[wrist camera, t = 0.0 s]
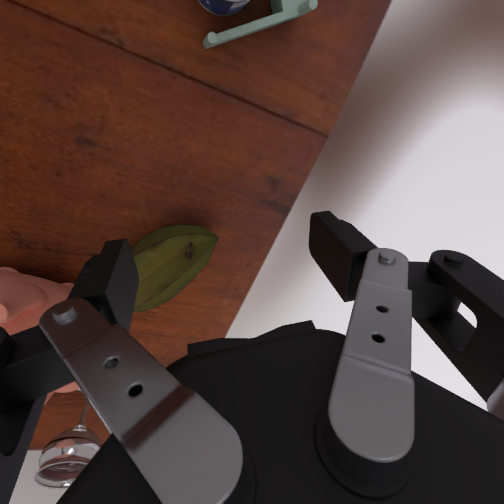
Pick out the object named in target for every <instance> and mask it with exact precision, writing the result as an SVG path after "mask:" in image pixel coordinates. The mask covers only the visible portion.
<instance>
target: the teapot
mask: <svg viewBox="0 0 504 504" xmlns="http://www.w3.org/2000/svg"><path fill="white" fill-rule="evenodd" d="M73 286H74V284H73V283H63V284H60V283H57V282H54V281H50V280H47V279H44V278H40V277H36V276H32V275H27V274H22V273H19V272H18V271H17V270H15V269H13V268H10V267H0V326H1V327H3V328H5V330H6V331H7V332H8V334H9V335H12V334H15V333H18V332H21V331H23V330H26V329H29V328H32V327H34V326H37V325H39V319H40V317H41V316H42V314H43V313H44V312H45V311H46V310H48V309H49V308H50V307H52V306H53V305H55V304H57V303H59V302H61V301H64V300H66V299H67V297H68V295H69V293H70V292H71V290H72V288H73ZM77 389H79V386H78V385H77V383H76V382H75V381H74V382H72V383H70V384H68V385H65V386H63V387H61V388H59V389H57V390H55V391H52V392H50V393H48V395H47V397H46V400H45V403H44V405H45V404H46V403H47V401H48V400H49V399H50V397H51V396H52V395H53V393H54V392H60V393H65V392H71V391H74V390H77Z"/></svg>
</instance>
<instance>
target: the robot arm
mask: <svg viewBox="0 0 504 504" xmlns="http://www.w3.org/2000/svg"><path fill="white" fill-rule="evenodd" d="M309 250H310V253H311V256H312V257H313V258H314V260H315V261H316V263H317V264H318V266H319V267H320V268H321V270H322V271H323V272H324V274H325V275H326V277H327V278H328V280H329V281H330V282H331V284H332V285H333V287H334V288H335V289H336V291H337V292H338V294H339V295H340V297H341V298H342V299H343V301H344V302H348V301H353V300H355V301H354V306H353V309H352V313H351V317H350V322H349V325H348V329H347V333H346V336H345V335H343V334H340V333H337V332H334V331H329V330H322V329H316V328H315V326H314V324H313V322H312V321H311V320H310V321H304V322H299V323H295V324H289V325H284V326H281V327H278V328H276V329H274V330H272V331H270V332H267V333H265V334H263V335H260V336H258V337H256V338H250V339H248V338H247V339H246V338H218V339H213V340H208V341H203V342H198V343H193V344H187V345H188V355H186V356H184V357H182V358H180V359H178V360H177V361H175V362H173V363H172V364H170V365H169V366H168V367H166V368H164V367H163V366H162V365H161V364H160V363H159V362H158V361H157V360H156V359H155V358H154V357H153V356H152V355H151V354H150V353H149V352H148V351H147V350H146V349H145V348H144V347H143V346H142V345H141V344H139V343H138V342H137V341H136V340H135V339H134V338H133V337H132V336H131V335H130V334H129V329H130V324H131V320H132V315H133V310H134V305H135V300H136V296H137V291H138V286H139V274H138V269H137V266H136V263H135V260H134V257H133V254H132V251H131V248H130V245H129V243H128V241H127V239H119V240H112V241H106V242H105V245H104V247H103V249H102V251H101V253H100V254H97V255H94V256H93V257H92V258H90V259H89V260H88V261H87V262H86V263H85V264H84V266H83V268H82V270H81V273H80V274H79V276H78V280H76V282H75V284H74V286H73V288H72V290H71V292H70V293H69V295H68V297H67V299H66V300H64V301H61V302H59V303H57V304H55V305H53V306H52V307H50V308H49V309H48V310H46V311H45V312H44V313H43V314H42V316H41V317H40V319H39V325H37V326H34V327H32V328H29V329H26V330H23V331H21V332H18V333H15V334H12V335H9V334H8V332H7V331H6V330H5V328H3V327H1V326H0V504H9V501H10V498H11V496H12V492H13V490H14V487H15V484H16V481H17V479H18V476H19V473H20V470H21V468H22V465H23V462H24V459H25V456H26V453H27V451H28V448H29V445H30V442H31V439H32V437H33V434H34V431H35V428H36V425H37V423H38V420H39V417H40V414H41V411H42V409H43V406H44V403H45V400H46V397H47V395H48V393H50V392H52V391H55V390H57V389H59V388H61V387H63V386H65V385H68V384H70V383H72V382H74V381H75V382H76V383H77V385H78V386H79V388H80V389H81V391H82V392H83V394H84V395H85V396H86V398H87V399H88V401H89V402H90V404H91V405H92V407H93V408H94V410H95V411H96V413H97V414H98V416H99V417H100V419H101V420H102V422H103V423H104V425H105V426H106V428H107V429H108V431H109V432H110V436H109V437H108V438H107V440H106V441H105V442H104V443H103V445H102V446H101V447H100V448H99V450H98V451H97V452H96V453H95V455H94V456H93V457H92V459H91V460H90V461H89V462H88V464H87V465H86V466H85V467H84V469H83V470H82V471H81V473H80V474H79V475H78V476H77V478H76V479H75V480H74V481H73V483H72V484H71V485H70V486H69V488H68V489H67V490H66V492H65V493H64V494H63V495H62V497H61V498H60V499H59V500H58V502H57V503H56V504H504V280H502V279H501V278H500V277H498V276H497V275H495V274H494V273H492V272H491V271H490V270H488V269H487V268H485V267H484V266H482V265H481V264H479V263H478V262H476V261H475V260H474V259H472V258H471V257H469V256H467V255H465V254H462V253H460V252H456V251H451V250H438V251H435V252H433V253H432V254H431V257H430V260H429V262H410V261H408V259H407V257H406V256H405V255H404V254H402V253H400V252H398V251H396V250H393V249H387V248H378V247H377V246H375V245H374V244H373V243H372V242H371V241H370V240H369V239H367V238H366V237H365V236H364V235H363V234H362V233H361V232H359V231H358V230H357V229H356V228H355V227H354V226H353V225H352V224H350V223H348V222H346V221H343V220H339V219H338V218H337V217H335V216H334V215H333V214H332V213H331V212H330V211H323V212H316V213H312V215H311V218H310V233H309ZM461 302H462V303H463V304H465V305H466V306H467V307H468V308H469V309H470V310H471V311H472V312H473V313H474V315H475V316H476V319H477V327H476V328H475V327H474V326H472V325H471V324H470V323H469V322H468V321H467V320H466V319H465V318H464V317H463V316H462V315H461V314H460V313H459V312H458V311H457V310H458V308H459V305H460V303H461ZM412 317H413V318H414V319H415V320H416V321H417V323H418V324H419V325H420V326H421V327H422V328H423V330H424V331H425V332H426V333H427V334H428V335H429V337H430V338H431V339H432V340H433V341H434V342H435V344H436V345H437V346H438V347H439V348H440V349H441V351H442V352H443V353H444V354H445V355H446V356H447V357H448V359H449V360H450V361H451V362H452V363H453V365H454V366H455V367H456V368H457V369H458V370H459V372H460V373H461V374H462V375H463V376H464V377H465V378H466V380H467V381H468V382H469V383H470V384H471V386H472V387H473V388H474V389H475V390H476V391H477V392H478V394H479V395H480V396H481V397H482V398H483V399H484V401H485V402H486V403H487V409H488V412H487V411H485V410H484V409H482V408H480V407H478V406H476V405H474V404H472V403H471V402H469V401H467V400H465V399H463V398H461V397H459V396H458V395H456V394H454V393H452V392H450V391H448V390H447V389H445V388H443V387H441V386H439V385H437V384H435V383H434V382H432V381H430V380H428V379H426V378H424V377H422V376H421V375H419V374H417V373H415V372H413V371H411V330H412V329H411V328H412Z"/></svg>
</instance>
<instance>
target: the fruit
mask: <svg viewBox="0 0 504 504" xmlns="http://www.w3.org/2000/svg"><path fill="white" fill-rule="evenodd" d="M217 241H218V237H217V236H216V235H215V234H214V233H212V232H211V231H210V230H208V229H206V228H204V227H200V226H196V225H187V224H181V225H172V226H166V227H163V228H160V229H158V230H155V231H154V232H152V233H150V234H148V235H147V236H145V237H144V238H142V239H141V240H140V241H139V242H138V243H137V244H136V245H134V246H133V247H132V248H131V251H132V254H133V257H134V260H135V263H136V266H137V269H138V274H139V286H138V291H137V296H136V300H135V305H134V310H133V312H141V311H145V310H148V309H151V308H154V307H157V306H159V305H162V304H163V303H165V302H167V301H169V300H170V299H171V298H173V297H174V296H175V295H177V294H178V293H179V292H180V291H181V290H182V289H183V288H184V287H186V286H187V285H188V284H189V283H190V282H191V281H192V280H193V279H194V277H195V276H196V275H197V274H198V273H199V272H200V271H201V270H202V269H203V267H204V266H205V265H206V263H207V262H208V260H209V258H210V256H211V254H212V252H213V249H214V246H215V244H216V243H217Z"/></svg>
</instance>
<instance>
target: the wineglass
mask: <svg viewBox="0 0 504 504" xmlns="http://www.w3.org/2000/svg"><path fill="white" fill-rule="evenodd" d="M77 390H78V391H80V392H82V391H81V389H80V388H79V389H77ZM82 393H83V392H82ZM88 406H89V401H88V399H86V402H85V405H84V408H83V411H82V414H81V417H80V420H79V422H78V425H76V426H75V427H74V428H70V429H67V430H65V431H63V432H61V433H60V434H58V435H57V436H55V437H54V438H53V439H51V440H50V441H49V443H48V444H47V445H46V446H45V448H44V449H43V451H42V454H41V456H40V459H39V466H40V468H39V470H38V471H37V472H36V473H35V474H34V476H33V479H34V482H35V483H37V484H38V485H40V486H42V487H46V488H52V489H65V488H69V486H70V485H71V484H72V483H73V481H74V480H75V479H76V478H77V476H78V475H79V474H80V473H81V471H82V470H83V469H84V467H85V466H86V465H87V464H88V462H89V461H90V460H91V459H92V457H93V456H94V455H95V453H96V452H97V451H98V450H99V448H100V447H101V446H102V444H101V440H100V438H99V437H98V436H97V435H96V433H95V432H94V431H93V430H91V429H88V428H86V426H85V425H84V423H85V419H86V415H87V411H88Z"/></svg>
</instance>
